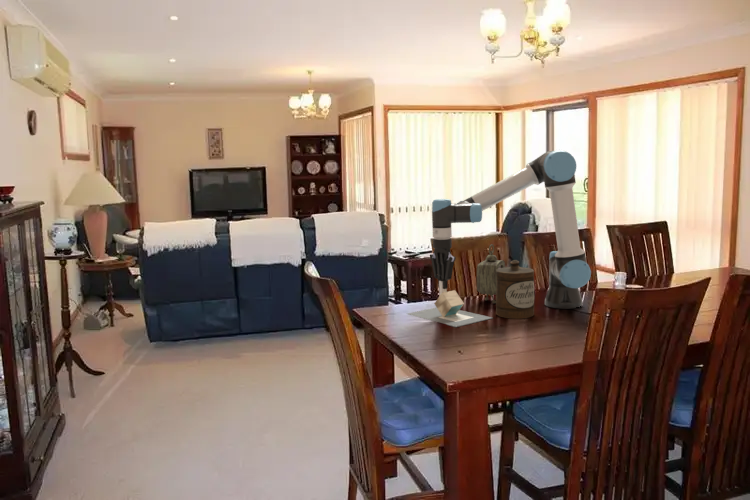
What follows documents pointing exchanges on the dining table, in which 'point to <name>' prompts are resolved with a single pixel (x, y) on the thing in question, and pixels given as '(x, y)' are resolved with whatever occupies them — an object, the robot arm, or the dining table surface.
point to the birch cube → (449, 303)
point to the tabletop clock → (488, 274)
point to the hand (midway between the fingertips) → (443, 296)
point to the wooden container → (515, 291)
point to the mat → (451, 317)
